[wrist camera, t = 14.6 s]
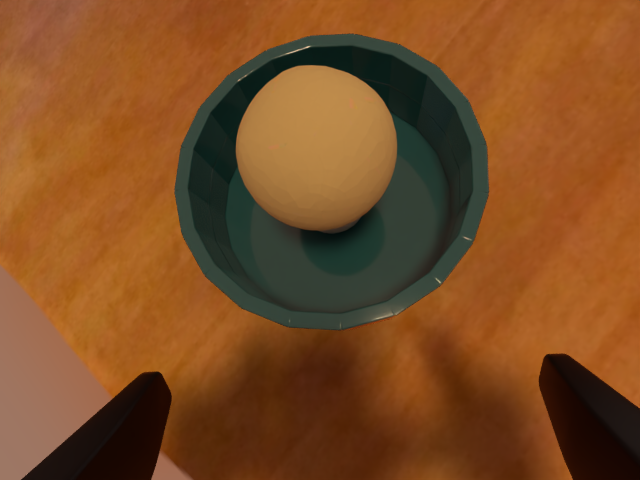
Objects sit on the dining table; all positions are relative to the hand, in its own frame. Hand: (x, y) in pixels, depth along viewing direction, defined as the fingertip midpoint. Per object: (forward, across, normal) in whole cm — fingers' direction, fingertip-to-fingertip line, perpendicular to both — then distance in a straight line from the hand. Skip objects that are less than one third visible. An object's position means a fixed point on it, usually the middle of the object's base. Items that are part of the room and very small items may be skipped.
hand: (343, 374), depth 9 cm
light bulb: (+14, +1, +3) cm, 14 cm away
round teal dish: (+15, +1, +3) cm, 15 cm away
